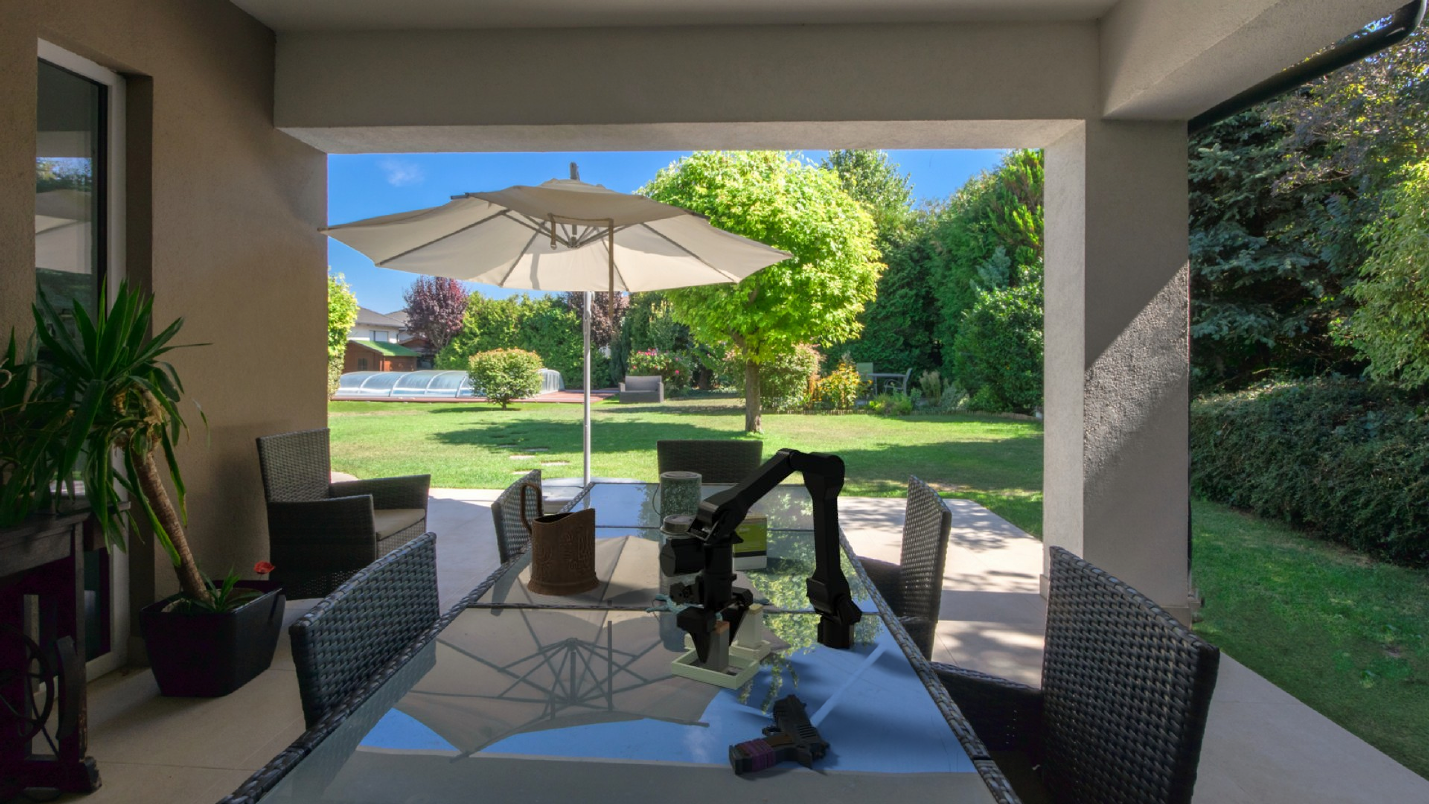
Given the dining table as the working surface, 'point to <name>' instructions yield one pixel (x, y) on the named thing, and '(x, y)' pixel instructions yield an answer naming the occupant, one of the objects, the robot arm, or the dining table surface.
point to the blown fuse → (719, 649)
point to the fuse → (752, 628)
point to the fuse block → (738, 649)
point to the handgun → (781, 740)
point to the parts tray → (712, 677)
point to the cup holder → (560, 549)
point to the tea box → (751, 543)
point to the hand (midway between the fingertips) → (715, 654)
